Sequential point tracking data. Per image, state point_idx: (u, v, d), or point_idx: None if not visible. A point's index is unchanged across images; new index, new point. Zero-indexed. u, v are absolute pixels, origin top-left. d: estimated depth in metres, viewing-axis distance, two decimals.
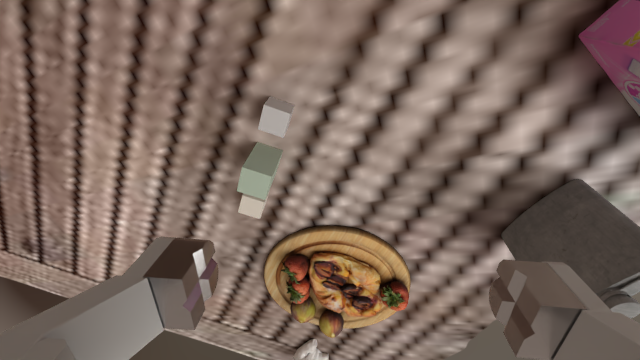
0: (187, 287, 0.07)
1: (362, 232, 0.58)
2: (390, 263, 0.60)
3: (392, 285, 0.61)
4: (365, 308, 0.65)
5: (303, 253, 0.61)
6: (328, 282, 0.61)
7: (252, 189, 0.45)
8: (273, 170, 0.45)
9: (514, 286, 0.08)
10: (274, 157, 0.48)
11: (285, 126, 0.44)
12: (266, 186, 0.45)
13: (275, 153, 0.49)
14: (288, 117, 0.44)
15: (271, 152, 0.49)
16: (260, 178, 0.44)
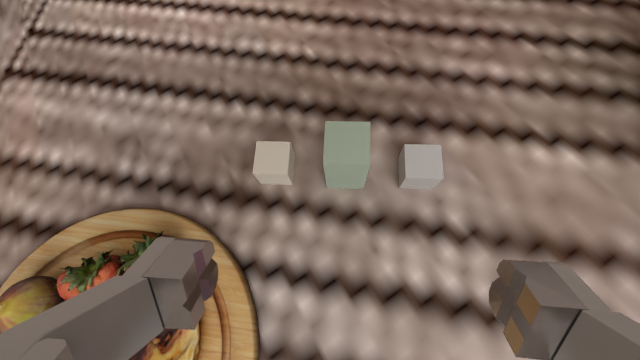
0: (187, 287, 0.07)
1: None
2: None
3: None
4: None
5: None
6: None
7: (336, 140, 0.30)
8: (368, 169, 0.30)
9: (514, 286, 0.08)
10: None
11: (423, 176, 0.33)
12: (349, 159, 0.29)
13: None
14: (437, 177, 0.33)
15: None
16: (359, 148, 0.29)
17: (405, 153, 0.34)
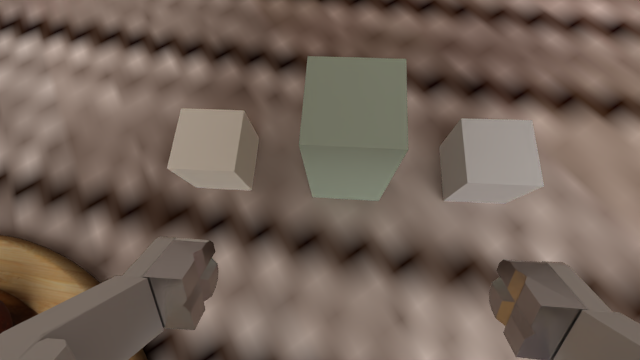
0: (187, 287, 0.07)
1: None
2: None
3: None
4: None
5: None
6: None
7: (331, 96, 0.13)
8: (399, 161, 0.14)
9: (514, 286, 0.08)
10: None
11: (502, 180, 0.16)
12: (360, 138, 0.13)
13: None
14: (530, 183, 0.16)
15: None
16: (383, 114, 0.13)
17: (464, 135, 0.17)
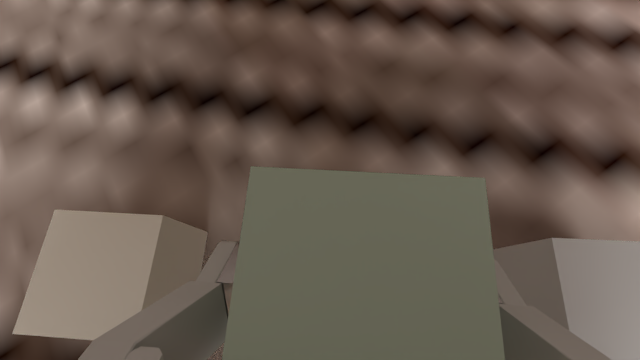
0: None
1: None
2: None
3: None
4: None
5: None
6: None
7: (303, 285, 0.05)
8: None
9: None
10: None
11: None
12: None
13: None
14: None
15: None
16: (439, 347, 0.05)
17: (560, 273, 0.09)
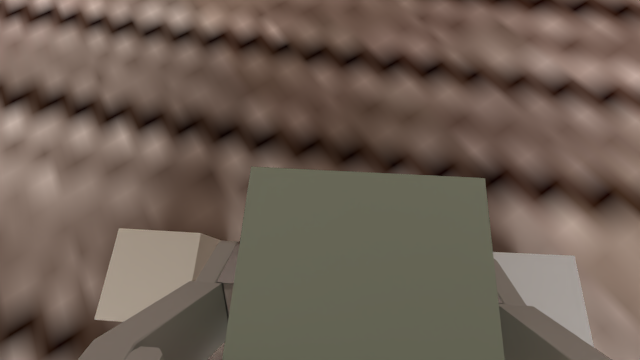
0: None
1: None
2: None
3: None
4: None
5: None
6: None
7: (303, 285, 0.05)
8: None
9: None
10: None
11: None
12: None
13: None
14: None
15: None
16: (439, 347, 0.05)
17: None
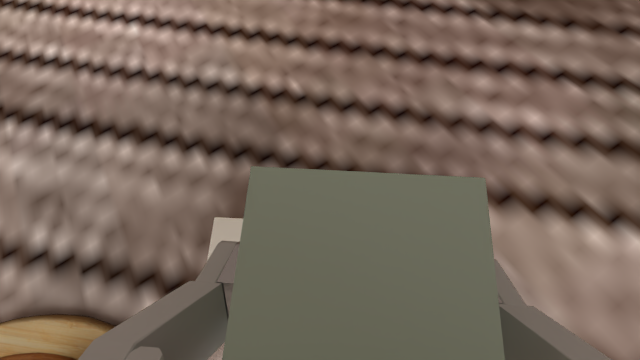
0: None
1: None
2: None
3: None
4: None
5: None
6: None
7: (303, 284, 0.05)
8: None
9: None
10: None
11: None
12: None
13: None
14: None
15: None
16: (439, 347, 0.05)
17: None
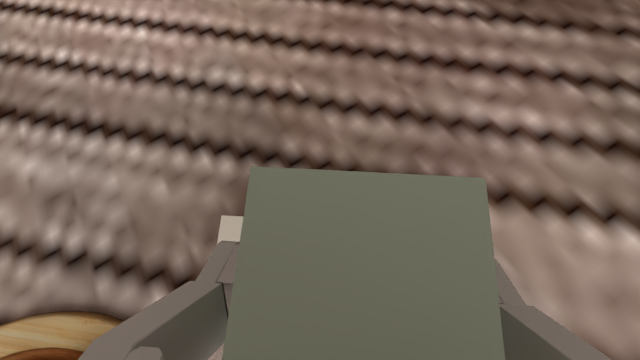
0: None
1: None
2: None
3: None
4: None
5: None
6: None
7: (303, 285, 0.05)
8: None
9: None
10: None
11: None
12: None
13: None
14: None
15: None
16: (439, 347, 0.05)
17: None
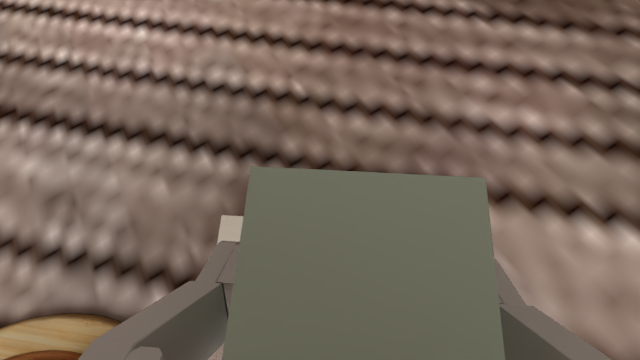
0: None
1: None
2: None
3: None
4: None
5: None
6: None
7: (303, 285, 0.05)
8: None
9: None
10: None
11: None
12: None
13: None
14: None
15: None
16: (439, 347, 0.05)
17: None
